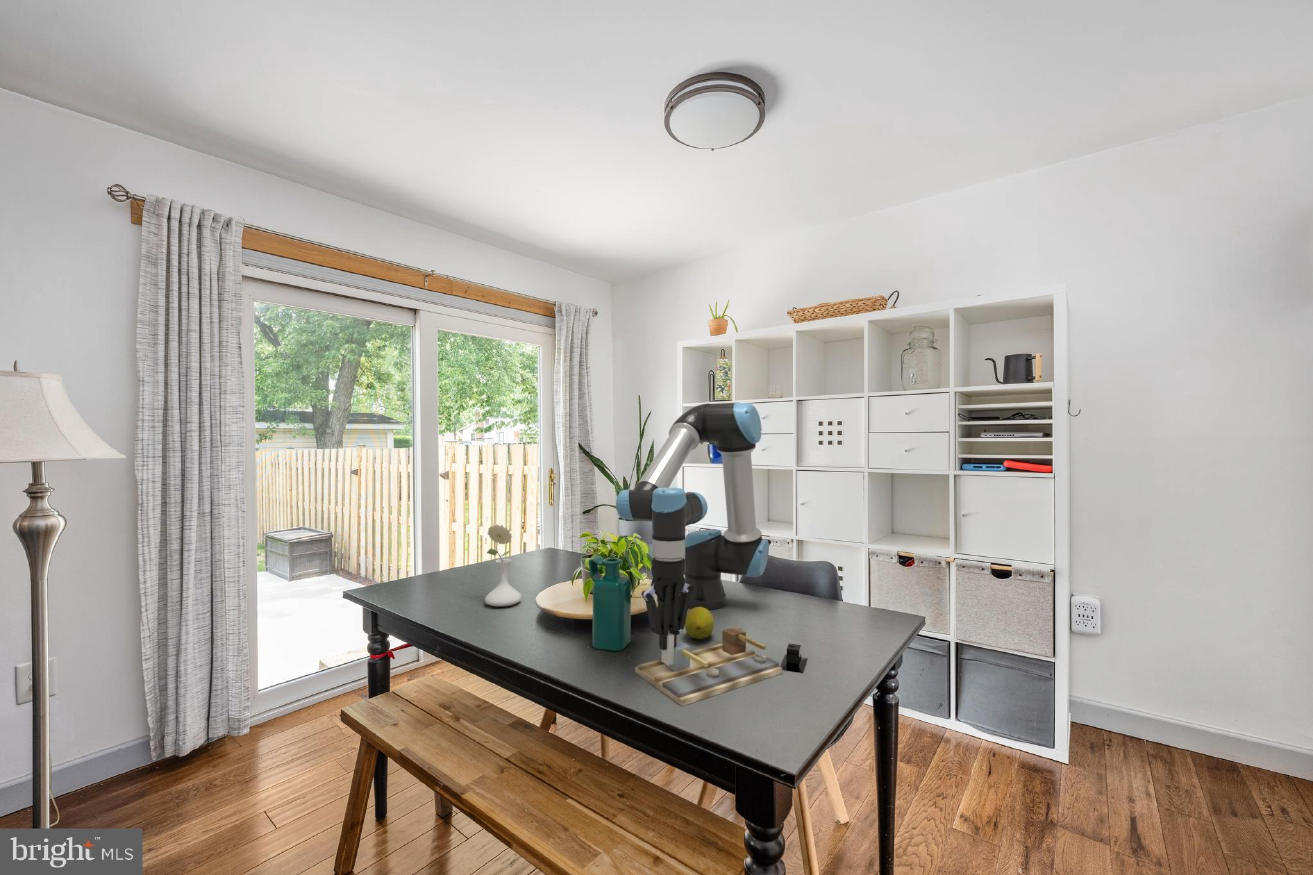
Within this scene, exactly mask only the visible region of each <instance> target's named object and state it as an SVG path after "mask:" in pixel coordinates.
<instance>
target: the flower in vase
mask: <svg viewBox="0 0 1313 875" xmlns="http://www.w3.org/2000/svg"><path fill="white" fill-rule="evenodd" d="M487 536H489V538H490V539H491V540H492V541H493V542H494V543H495V544H496V546H495V549H493V548H489V549H488V550H487V552H486V554H489V555H492V556H497V555H498V557H499V559H496V560H495V563H496V564H497V567H498V570H499V581H498V584H497V585H496V587H494V588H493V589H492V590H491V591H490V592H489V593H488V594H487V595H486V596H485V598H484V602H485V604H486V605H488V606H489V605H490V606H493V607H508V606H512V605H515V604H517V603H519V602H521V600H522V598H523V596H522V594H521V593H520V592H519V591H518V590H517V589H515V588H514V587H513V586H511V585H510V583H509V582H508V572H509V571H508V570H509V566H510V563H512V562H513V560H512V559H510V558H502V557H505V556H506V555H508V554H509V553H510V552H511V550H512V549H510V550H507V551H505V552H504V553H503V554H501V555H500V553H499V551H498V545H505V544H508V543H511V540H512V538H513V536H512V533H511V530H510V529H508V527H504V525H502V524H501V525H499V524H493V525H491V526H489V527H488V530H487Z"/></svg>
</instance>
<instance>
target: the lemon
mask: <svg viewBox="0 0 1313 875" xmlns="http://www.w3.org/2000/svg"><path fill="white" fill-rule="evenodd" d="M714 620H715V618H714V617H713V614H712V613H711V611H710V610H709V609H708V610H707V609H705V608H703V607H695V608H690V610H688V611H687V616H686V621H685V626H684V629H685V630H686V633H687V635H688V636H690V637H691V638H693V639H696V640H704V639H706V638H708V637H709V636H711V634H712V633H713V630H714V627H715V626H714V625H715V624H714V623H715V621H714Z"/></svg>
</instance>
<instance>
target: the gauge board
mask: <svg viewBox="0 0 1313 875" xmlns="http://www.w3.org/2000/svg"><path fill="white" fill-rule="evenodd" d="M721 634H722V636H721V637H722V639H721V640H722V643H718V644H714V645H710V646H707V647H703V648H699V649H695V650H690V653H692V654H694V655H696V656H697V657H699V658H701V659H703V660H704V661H706V662H708V667H704V666H702V665H700V664H699V663H697V662H695V661H693V660H692V659H690V667H689V668H685V669H682V670H678V671H673V670H672V669H670V668H669V667H667V666H666V664H665V663H663V662H662V658H661V659H658V660H654V661H649V662H646V663H642V664H638V665H637V666H636V667H634V668H635V669H634V674H636V675H638V676H639V677H641V678H642V679H643V680H645V681H646V682H647V683H649V684H650V685H651V686H653V687H654V688H656V689H657V690H659V691H660V692H661V693H663V694H664V695H666V696H667V697H668V698H670V699H671V700H673V701H674V702H676V704H678V705H680V706H681V707H684V706H686V705H689V704H693V703H696V702H698V701H702V700H706V699H709V698H711V697H715V696H718V695H720V694H724V693H727V692H730V691H732V690H736V689H738V688H741V687H744V686H747V685H751V684H754V683H757V682H761V681H763V680H766V679H770V678H772V677H773V678H774V677H775V676H778V675H781V674H783V670H782V668H781V667H780V662H778V661H776V660H774V659H772V658H769V657H768V656H765V655H763V654H762V653H760V654H755V652H756V651H755V650H753V649H750V650H747V648H746V647H747V644H749V645H751V646H754V647H756V648H758V649H760V650H763V651H765V650H767V646H766V645H765V644H763V643H761V642H758V641H757V640H755V639H752V638H749V637H748V636H747V631H744V630H742V629H740V628H737V627H736V626H733V627H730V628H725V629H722V633H721Z"/></svg>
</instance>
